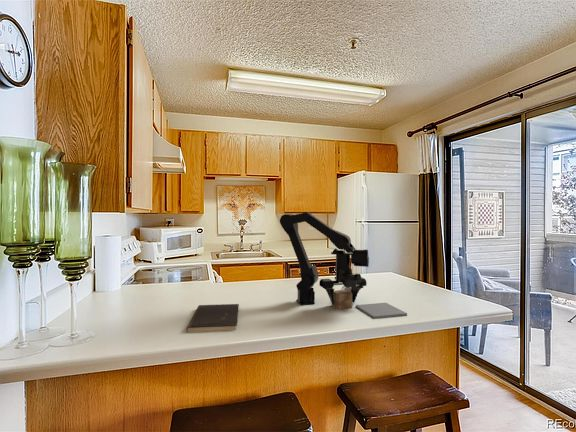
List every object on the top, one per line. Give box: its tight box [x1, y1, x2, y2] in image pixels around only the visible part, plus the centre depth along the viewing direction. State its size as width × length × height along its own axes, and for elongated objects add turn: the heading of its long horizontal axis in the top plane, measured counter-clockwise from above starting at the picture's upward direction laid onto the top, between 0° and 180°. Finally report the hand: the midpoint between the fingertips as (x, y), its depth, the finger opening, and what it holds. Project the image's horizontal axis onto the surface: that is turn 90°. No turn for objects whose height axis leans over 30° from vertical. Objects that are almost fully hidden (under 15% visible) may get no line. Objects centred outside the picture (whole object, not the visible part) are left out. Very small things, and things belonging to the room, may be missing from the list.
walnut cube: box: [331, 289, 353, 310], centre depth 126 cm, size 6×6×6 cm
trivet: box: [355, 302, 408, 319], centre depth 120 cm, size 14×14×1 cm
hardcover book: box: [185, 303, 240, 333], centre depth 110 cm, size 16×23×2 cm
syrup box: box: [340, 285, 360, 298], centre depth 137 cm, size 6×6×14 cm
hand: (343, 303), depth 126 cm, fingers open, 9 cm apart
